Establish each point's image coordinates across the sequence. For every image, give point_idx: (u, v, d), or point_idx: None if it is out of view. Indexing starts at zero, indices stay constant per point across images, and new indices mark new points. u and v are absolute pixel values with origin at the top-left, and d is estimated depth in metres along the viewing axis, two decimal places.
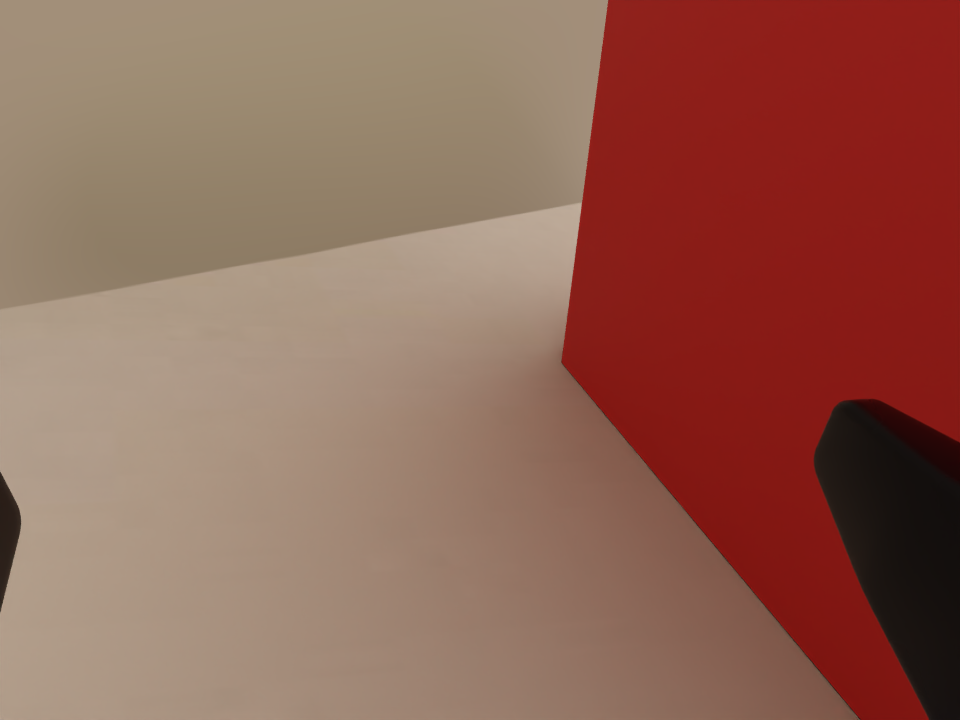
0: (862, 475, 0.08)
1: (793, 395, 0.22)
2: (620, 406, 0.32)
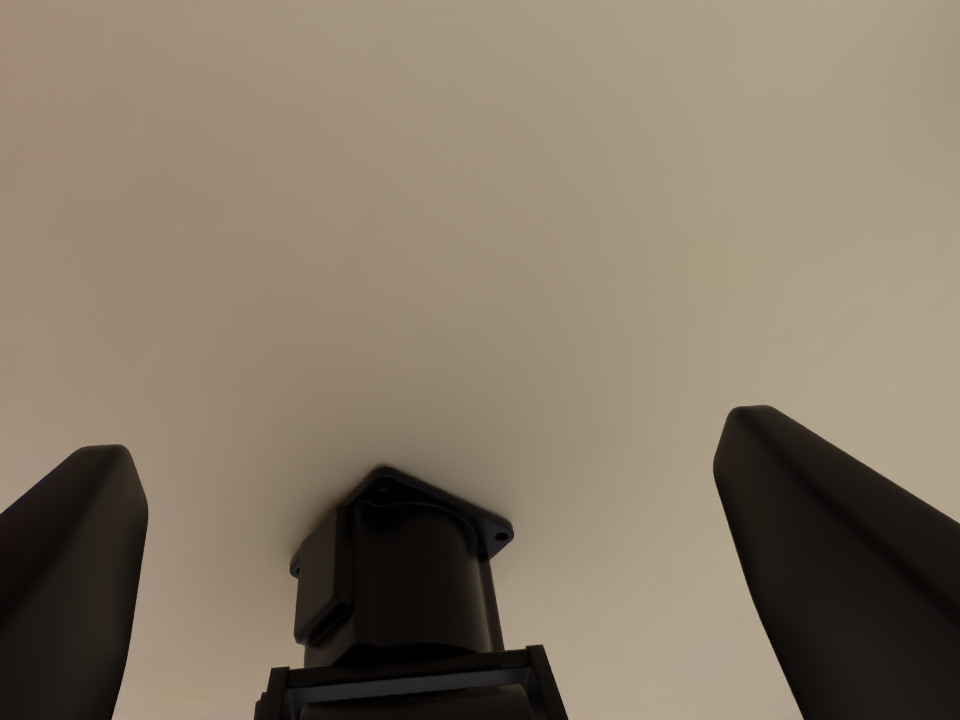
0: (751, 483, 0.07)
1: None
2: None
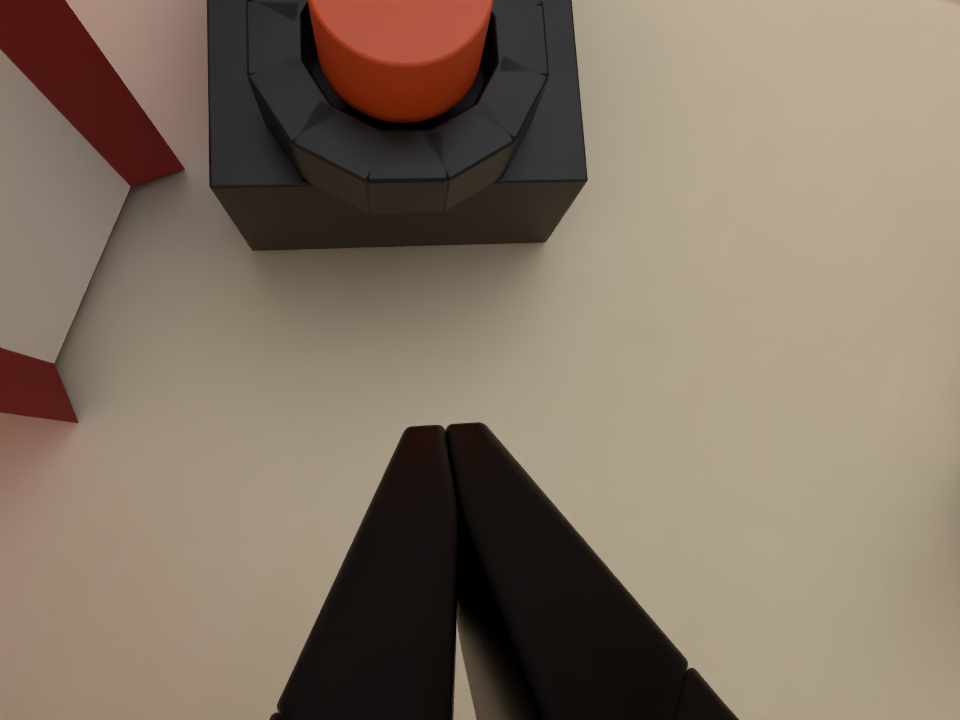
0: None
1: None
2: None
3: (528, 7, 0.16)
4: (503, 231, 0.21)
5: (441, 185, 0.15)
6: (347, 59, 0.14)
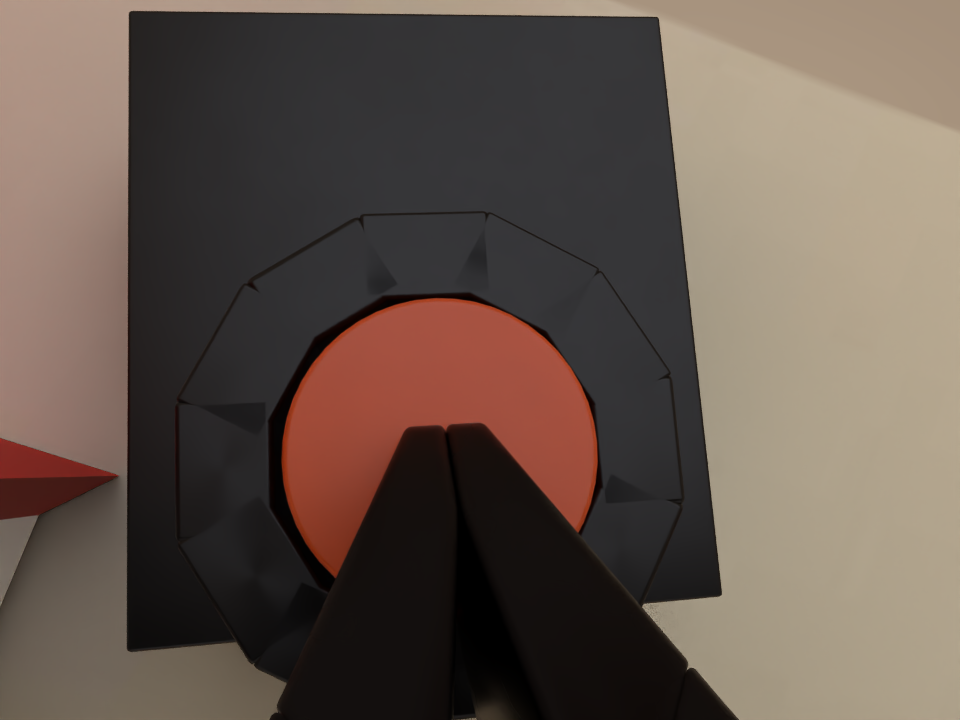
0: None
1: None
2: None
3: (648, 384, 0.10)
4: None
5: None
6: None
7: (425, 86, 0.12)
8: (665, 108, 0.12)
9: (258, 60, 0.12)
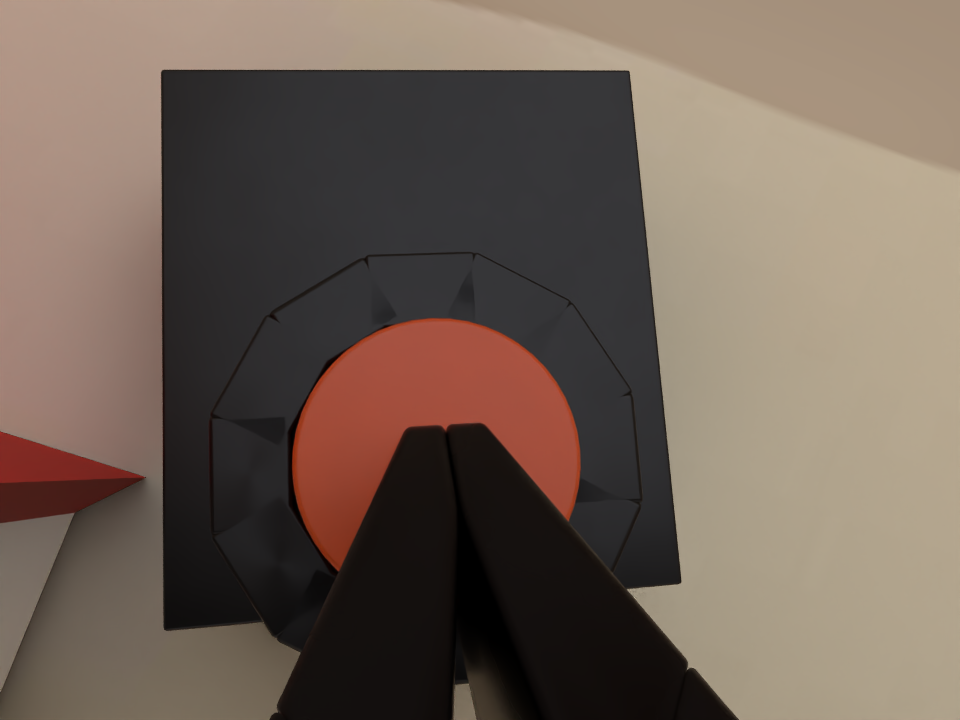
0: None
1: None
2: None
3: (611, 400, 0.11)
4: None
5: None
6: None
7: (421, 134, 0.14)
8: (634, 152, 0.14)
9: (275, 112, 0.13)
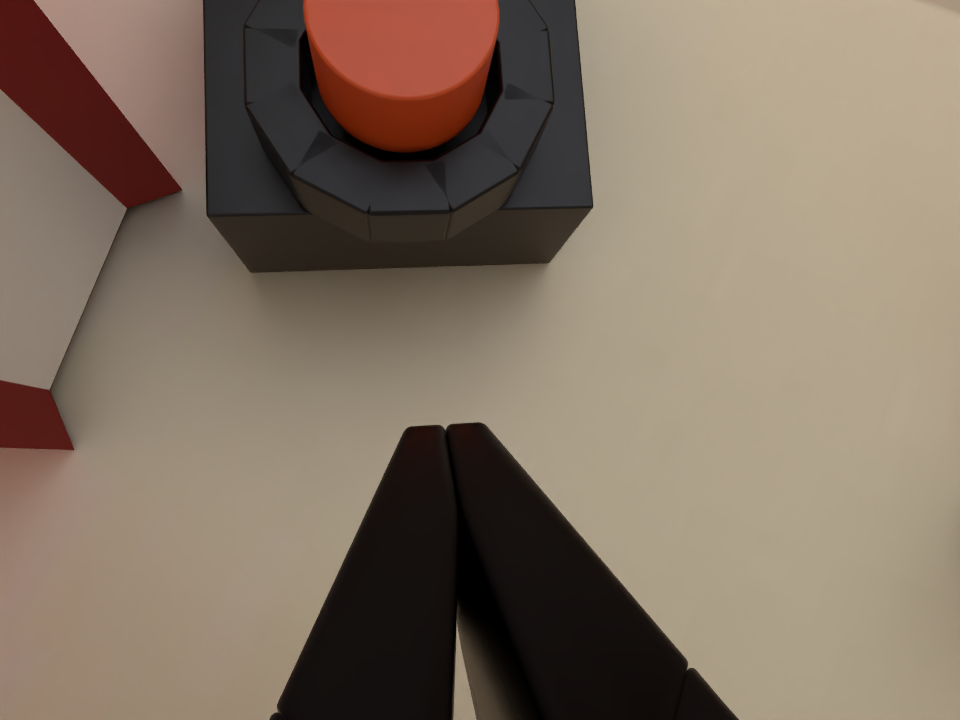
0: None
1: None
2: None
3: (533, 33, 0.16)
4: (506, 253, 0.21)
5: (444, 217, 0.15)
6: (347, 92, 0.13)
7: None
8: None
9: None
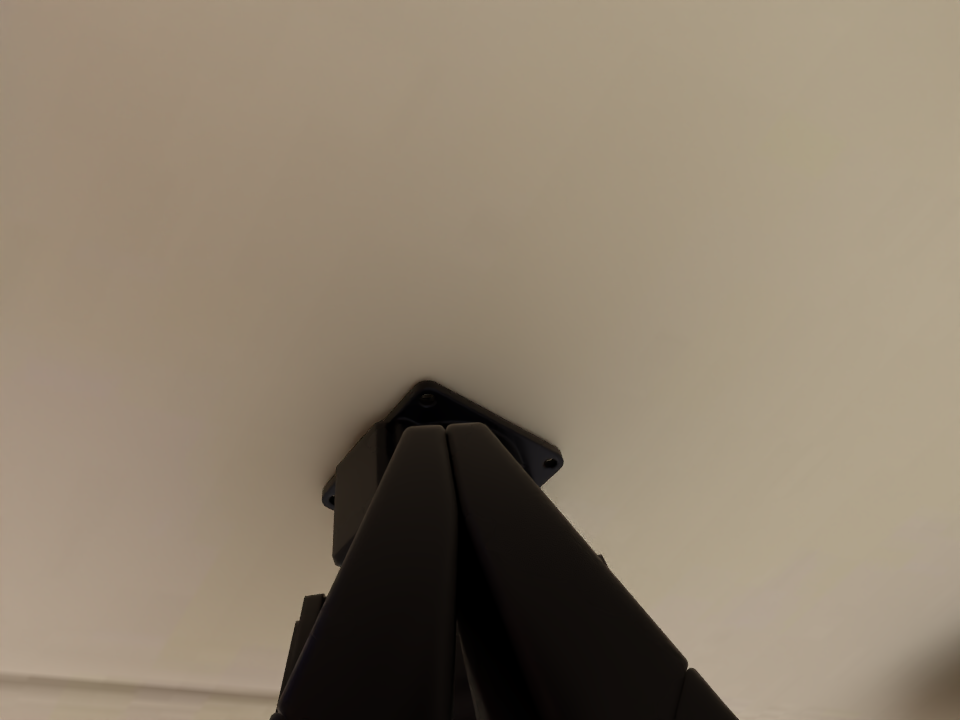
0: None
1: None
2: None
3: None
4: None
5: None
6: None
7: None
8: None
9: None
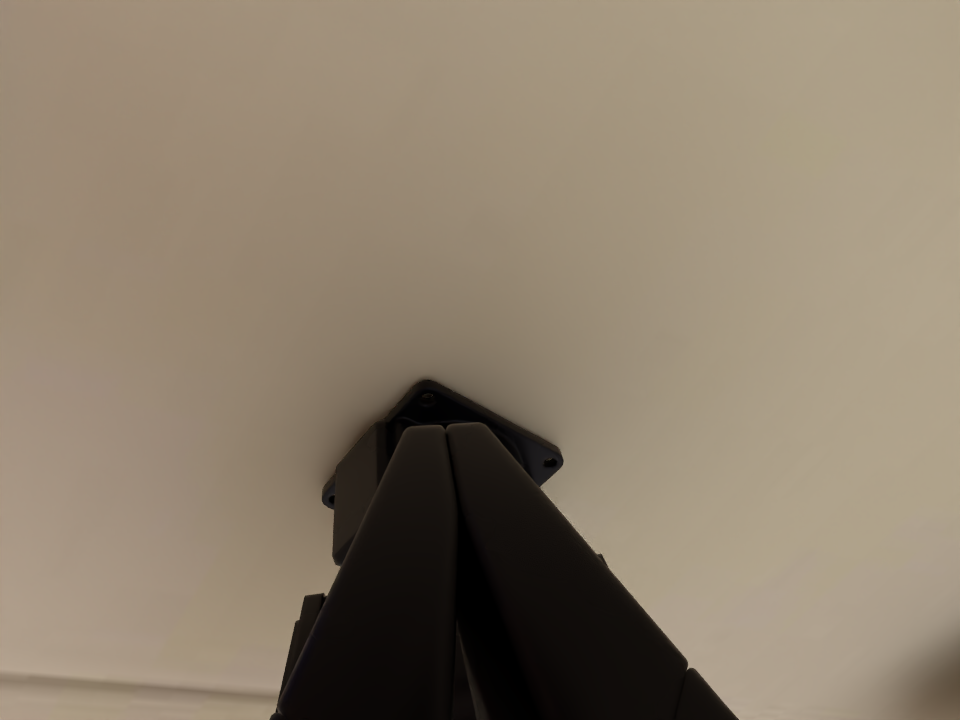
0: None
1: None
2: None
3: None
4: None
5: None
6: None
7: None
8: None
9: None
